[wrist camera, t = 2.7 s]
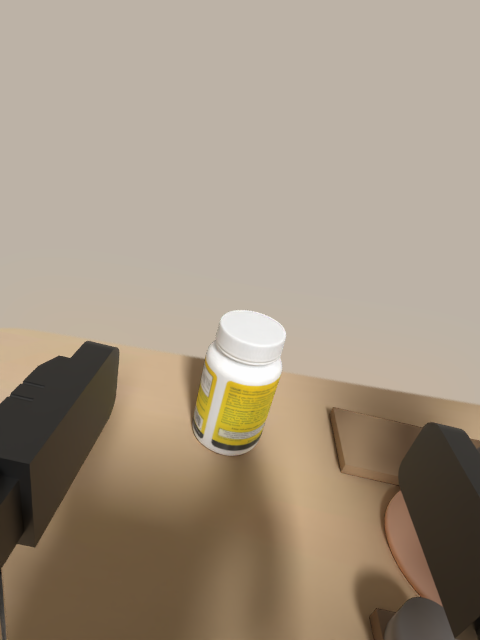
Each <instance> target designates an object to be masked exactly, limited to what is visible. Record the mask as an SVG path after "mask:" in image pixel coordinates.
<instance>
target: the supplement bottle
mask: <svg viewBox="0 0 480 640" xmlns="http://www.w3.org/2000/svg"><path fill="white" fill-rule="evenodd" d="M285 339H286V332H285V329H284V328H283V326H282V325H281V324H280V323H279V322H277V321H276V320H274V319H273V318H271V317H269V316H267V315H264V314H261V313H258V312H254V311H248V310H235V311H230V312H228V313H226V314H224V315H223V316H222V317H221V319H220V323H219V327H218V330H217V333H216V340H215V341H213V342H212V344H210V346H209V348H208V350H207V353H206V357H205V362H204V367H203V372H202V377H201V382H200V387H199V391H198V396H197V401H196V406H195V412H194V416H193V431H194V434H195V436H196V437H197V439H198V440H199V442H200V443H201V444H203V445H204V446H205V447H207V448H208V449H210V450H212V451H214V452H216V453H219V454H222V455H228V456H235V455H241V454H244V453H246V452H248V451H250V450H251V449H252V448H254V447H255V445H256V444H257V443H258V441H259V439H260V436H261V434H262V430H263V427H264V424H265V421H266V418H267V415H268V412H269V409H270V406H271V403H272V400H273V397H274V394H275V391H276V388H277V385H278V382H279V379H280V376H281V373H282V362H281V359H280V356H281V353H282V350H283V346H284V342H285Z"/></svg>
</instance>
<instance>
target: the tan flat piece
mask: <svg viewBox="0 0 480 640" xmlns="http://www.w3.org/2000/svg"><path fill="white" fill-rule="evenodd" d="M330 418H331V423H332V428H333V433H334V439H335V444H336V449H337V454H338V459H339V464H340V469H341V473H346V474H350V475H354V476H359V477H363V478H368V479H372V480H377V481H381V482H386V483H390V484H395V485H399V481H398V472H399V467H400V464H401V462H402V460H403V458H404V457H405V455H406V454H407V452H408V450H409V449H410V447H411V446H412V444H413V443H414V441H415V439H416V438H417V436H418V435H419V433H420V431H421V430H422V427H418V426H413V425H409V424H405V423H400V422H396V421H392V420H387V419H383V418H379V417H374V416H370V415H365V414H361V413H357V412H352V411H348V410H344V409H339V408H335V407H333V409H332V411H331V413H330ZM471 441H472V443H473V444H474V446H475V447H476V449H477V450H478V452H479V453H480V441H479V440H474V439H471ZM384 523H385V532H386V537H387V541H388V544H389V547H390V550H391V552H392V554H393V556H394V558H395V560H396V562H397V564H398V566H399V568H400V569H401V571H402V572H403V574H404V575H405V577H406V578H407V580H408V581H409V583H410V584H411V585H412V586H413V588H414V589H415V590H416V592H417V593H418V594H419V595H420V596H421V597H415V598H411V599H409V600H408V601H406V602H405V604H404V605H403V606H402V607H401V608H400V609H399V610H398V611H397V613H396V612H391V611H387V610H382V609H377V608H376V609H375V611H374V612H373V613H372V614H371V615H370V621H371V626H372V631H373V636H374V640H458V639H455V638H454V635H453V633H452V630H451V627H450V624H449V622H448V619H447V616H446V613H445V611H444V608H443V605H442V602H441V600H440V597H439V594H438V591H437V589H436V586H435V583H434V580H433V578H432V575H431V572H430V569H429V567H428V564H427V561H426V558H425V556H424V553H423V550H422V547H421V545H420V542H419V539H418V536H417V534H416V531H415V528H414V525H413V523H412V520H411V517H410V514H409V512H408V509H407V506H406V503H405V501H404V498H403V495H402V492H401V490H400V491H399V492H398V493H396V494H395V496H394V497H393V498H392V500H391V501H390V503H389V504H388V507H387V509H386V513H385V522H384Z"/></svg>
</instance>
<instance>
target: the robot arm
mask: <svg viewBox="0 0 480 640" xmlns="http://www.w3.org/2000/svg"><path fill="white" fill-rule="evenodd" d="M118 365H119V349H118V348H117V347H112V346H108V345H104V344H100V343H95V342H91V341H86V342H85V343H84V344H83V345H82V346H81V347H80V348H79V349H78V350H77V351H76V353H75V354H74V355H73V356H72V357H71V358H67V357H63V356H58V357H55V358H53V359H51V360H49V361H47V362H45V363H43V364H41V365H39V366H38V367H37V368H36V369H35V370H34V371H33V372H32V373H31V374H30V375H29V376H28V377H27V378H26V379H25V380H24V381H23V384H20V385H19V386H18V387H17V388H16V389H15V390H14V391H13V392H12V393H11V395H10V397H7V398H6V399H5V400H4V401H3V402H2V403H1V404H0V640H8V634H7V622H6V609H5V597H4V584H3V572H2V567H3V565H4V564H5V562H6V560H7V559H8V557H9V555H10V554H11V552H12V551H13V549H14V547H15V546H16V544H21V545H26V546H30V547H36V545H37V543H38V542H39V540H40V538H41V536H42V535H43V533H44V531H45V529H46V528H47V526H48V524H49V522H50V521H51V519H52V517H53V515H54V514H55V512H56V510H57V508H58V507H59V505H60V503H61V501H62V500H63V498H64V496H65V494H66V493H67V491H68V489H69V487H70V486H71V484H72V482H73V480H74V479H75V477H76V475H77V473H78V472H79V470H80V468H81V466H82V465H83V463H84V461H85V459H86V458H87V456H88V454H89V452H90V451H91V449H92V447H93V445H94V444H95V442H96V440H97V438H98V437H99V435H100V433H101V431H102V430H103V428H104V426H105V424H106V423H107V421H108V419H109V417H110V415H111V412H112V409H113V406H114V402H115V398H116V388H117V376H118ZM398 481H399V486H400V490H401V492H402V495H403V498H404V501H405V503H406V506H407V509H408V512H409V514H410V517H411V520H412V523H413V525H414V528H415V531H416V534H417V536H418V539H419V542H420V545H421V547H422V550H423V553H424V556H425V558H426V561H427V564H428V567H429V569H430V572H431V575H432V578H433V580H434V583H435V586H436V589H437V591H438V594H439V597H440V600H441V602H442V605H443V608H444V611H445V613H446V616H447V619H448V622H449V624H450V627H451V630H452V633H453V635H454V638H455V639H458V640H480V453H479V452H478V450H477V449H476V447H475V446H474V444H473V443H472V441H471V439H470V438H469V436H468V435H467V434H466V432H465V431H463V430H462V429H459V428H454V427H450V426H446V425H442V424H437V423H433V422H430V423H427V424H426V425H425V426H424V427H423V428H422V430H421V431H420V433H419V435H418V436H417V438H416V439H415V441H414V443H413V444H412V446H411V447H410V449H409V450H408V452H407V454H406V455H405V457H404V458H403V460H402V462H401V464H400V467H399V472H398Z"/></svg>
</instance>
